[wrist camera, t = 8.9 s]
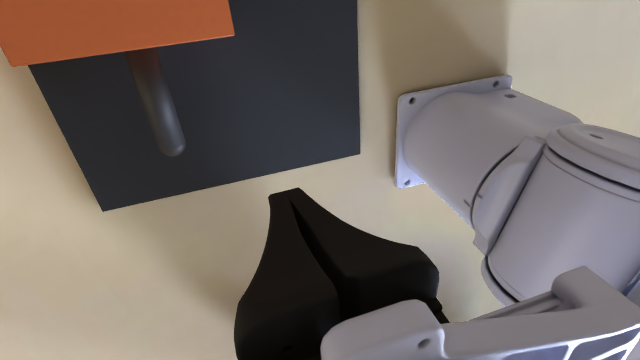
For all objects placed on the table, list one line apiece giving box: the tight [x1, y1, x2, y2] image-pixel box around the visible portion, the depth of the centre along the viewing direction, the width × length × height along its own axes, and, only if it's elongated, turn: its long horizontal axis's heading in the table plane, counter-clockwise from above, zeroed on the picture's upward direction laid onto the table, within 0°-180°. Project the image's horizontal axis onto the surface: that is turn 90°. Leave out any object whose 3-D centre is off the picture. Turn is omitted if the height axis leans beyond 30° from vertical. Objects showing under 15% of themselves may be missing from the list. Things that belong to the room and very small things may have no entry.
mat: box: [28, 0, 360, 212], centre depth 20 cm, size 18×22×1 cm
